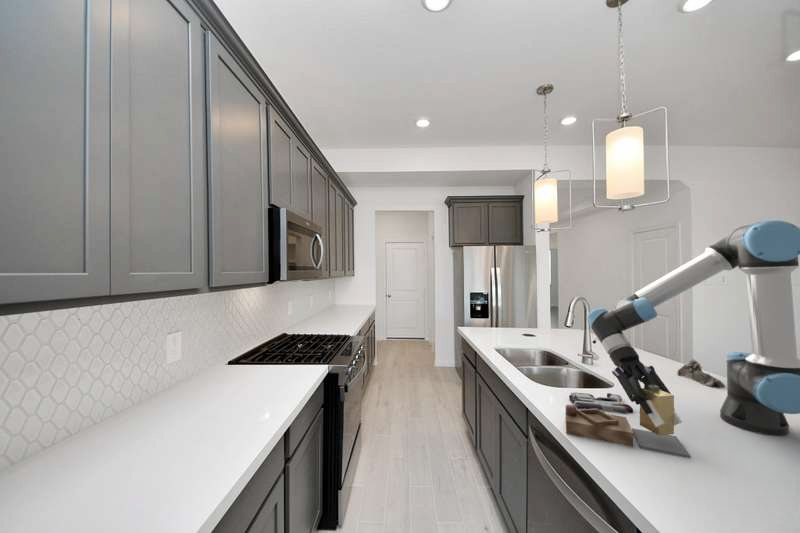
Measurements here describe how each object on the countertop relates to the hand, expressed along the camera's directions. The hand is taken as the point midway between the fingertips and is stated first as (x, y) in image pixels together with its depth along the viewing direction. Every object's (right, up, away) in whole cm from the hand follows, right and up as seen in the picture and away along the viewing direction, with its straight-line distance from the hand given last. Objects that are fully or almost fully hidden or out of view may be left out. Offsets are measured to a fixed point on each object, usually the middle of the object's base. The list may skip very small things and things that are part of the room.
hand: (668, 424), depth 90 cm
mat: (0, -7, +3) cm, 8 cm away
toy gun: (-1, -8, +31) cm, 32 cm away
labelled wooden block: (-1, -3, +4) cm, 5 cm away
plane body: (-14, -7, +10) cm, 19 cm away
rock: (+61, -8, +56) cm, 83 cm away
